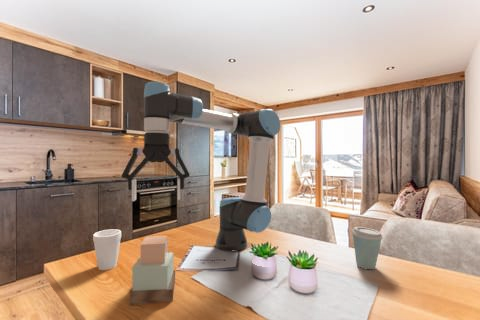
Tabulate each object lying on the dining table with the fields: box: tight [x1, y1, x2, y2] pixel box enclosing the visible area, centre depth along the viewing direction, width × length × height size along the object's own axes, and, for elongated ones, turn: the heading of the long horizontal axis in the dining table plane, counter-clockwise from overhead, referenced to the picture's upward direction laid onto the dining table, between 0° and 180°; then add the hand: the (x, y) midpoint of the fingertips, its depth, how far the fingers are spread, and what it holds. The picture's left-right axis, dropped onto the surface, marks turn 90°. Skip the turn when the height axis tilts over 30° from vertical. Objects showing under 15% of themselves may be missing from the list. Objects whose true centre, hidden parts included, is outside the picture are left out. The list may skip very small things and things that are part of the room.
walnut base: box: [129, 269, 176, 307], centre depth 75 cm, size 12×12×4 cm
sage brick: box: [131, 251, 174, 291], centre depth 75 cm, size 10×10×7 cm
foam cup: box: [92, 228, 122, 271], centre depth 92 cm, size 10×9×13 cm
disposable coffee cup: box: [352, 226, 383, 270], centre depth 94 cm, size 11×11×15 cm
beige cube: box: [140, 235, 169, 265], centre depth 75 cm, size 7×7×6 cm
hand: (156, 199), depth 75 cm, fingers open, 13 cm apart
